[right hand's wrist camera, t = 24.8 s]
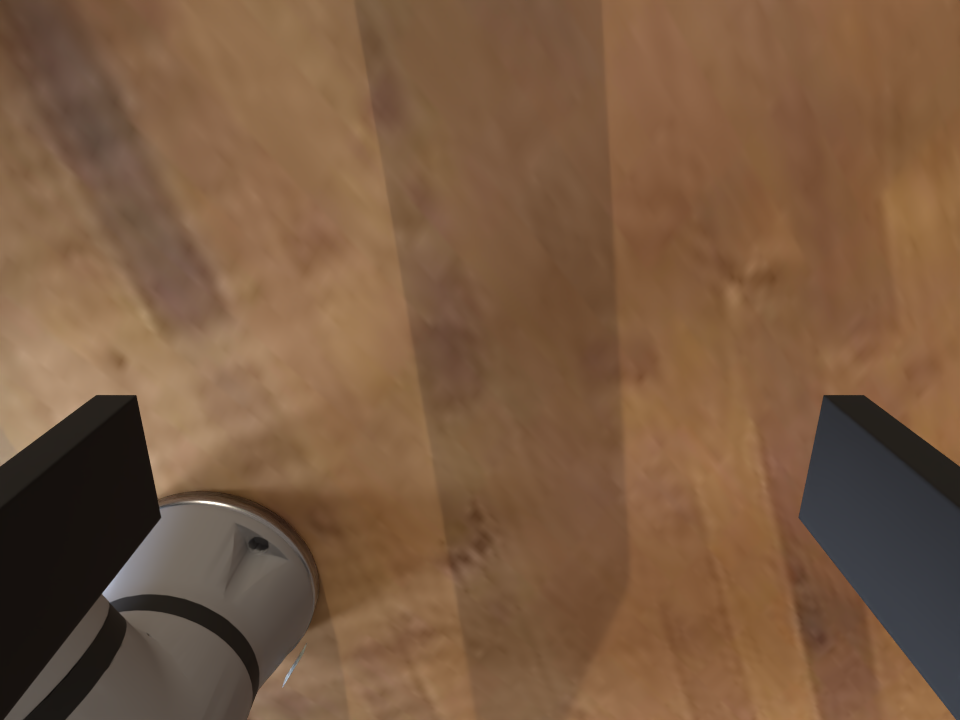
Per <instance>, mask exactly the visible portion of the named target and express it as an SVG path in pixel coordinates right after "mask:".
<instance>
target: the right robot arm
mask: <svg viewBox="0 0 960 720" xmlns="http://www.w3.org/2000/svg"><path fill="white" fill-rule="evenodd" d="M799 519H800V520H801V521H802V523H803V524H804V525H805V527H806V528H807V529H808V530H809V532H810V533H811V534H812V536H813V537H814V538H815V539H816V541H817V542H818V543H819V544H820V546H821V547H822V548H823V550H824V551H825V552H826V553H827V555H828V556H829V557H830V559H831V560H832V561H833V562H834V564H835V565H836V566H837V568H838V569H839V570H840V571H841V573H842V574H843V575H844V577H845V578H846V579H847V580H848V582H849V583H850V584H851V585H852V587H853V588H854V589H855V591H856V592H857V593H858V594H859V596H860V597H861V598H862V600H863V601H864V602H865V603H866V605H867V606H868V607H869V609H870V610H871V611H872V612H873V614H874V615H875V616H876V618H877V619H878V620H879V621H880V623H881V624H882V625H883V626H884V628H885V629H886V630H887V632H888V633H889V634H890V635H891V637H892V638H893V639H894V641H895V642H896V643H897V644H898V646H899V647H900V648H901V650H902V651H903V652H904V653H905V655H906V656H907V657H908V659H909V660H910V661H911V662H912V664H913V665H914V666H915V667H916V669H917V670H918V671H919V673H920V674H921V675H922V676H923V678H924V679H925V680H926V682H927V683H928V684H929V685H930V687H931V688H932V689H933V691H934V692H935V693H936V694H937V696H938V697H939V698H940V699H941V701H942V702H943V703H944V705H945V706H946V707H947V708H948V710H949V711H950V712H951V714H952V715H953V716H954V717H955V719H956V720H960V466H958V465H957V464H955V463H954V462H953V461H951V460H950V459H949V458H947V457H946V456H945V455H943V454H942V453H941V452H939V451H938V450H937V449H935V448H934V447H933V446H931V445H930V444H929V443H927V442H926V441H925V440H923V439H922V438H921V437H919V436H918V435H917V434H915V433H914V432H912V431H911V430H910V429H908V428H907V427H906V426H904V425H903V424H902V423H900V422H899V421H898V420H896V419H895V418H894V417H892V416H891V415H890V414H888V413H887V412H886V411H884V410H883V409H882V408H880V407H879V406H878V405H876V404H875V403H874V402H872V401H871V400H870V399H868V398H867V397H865V396H864V395H824V396H823V401H822V406H821V411H820V416H819V421H818V426H817V430H816V435H815V440H814V445H813V450H812V455H811V460H810V465H809V469H808V474H807V479H806V484H805V489H804V494H803V499H802V504H801V508H800V513H799ZM318 594H319V578H318V572H317V567H316V564H315V561H314V559H313V556H312V554H311V552H310V550H309V549H308V547H307V545H306V544H305V542H304V541H303V539H302V538H301V537H300V535H299V534H298V533H297V532H296V531H295V530H294V529H293V528H292V527H291V526H290V525H289V524H288V523H287V522H286V521H284V520H283V519H282V518H281V517H279V516H278V515H276V514H275V513H273V512H272V511H270V510H269V509H267V508H265V507H263V506H261V505H259V504H257V503H255V502H252V501H250V500H247V499H244V498H241V497H238V496H234V495H230V494H225V493H219V492H209V491H196V492H185V493H179V494H175V495H171V496H167V497H165V498H162V499H159V500H158V499H157V494H156V489H155V484H154V479H153V474H152V469H151V465H150V460H149V455H148V450H147V445H146V440H145V435H144V430H143V426H142V421H141V416H140V411H139V406H138V401H137V396H136V395H96V396H95V397H93V398H92V399H90V400H89V401H88V402H86V403H85V404H84V405H82V406H81V407H80V408H78V409H77V410H76V411H74V412H73V413H72V414H70V415H69V416H68V417H66V418H65V419H64V420H62V421H61V422H60V423H58V424H57V425H56V426H54V427H53V428H52V429H50V430H49V431H48V432H46V433H45V434H43V435H42V436H41V437H39V438H38V439H37V440H35V441H34V442H33V443H31V444H30V445H29V446H27V447H26V448H25V449H23V450H22V451H21V452H19V453H18V454H17V455H15V456H14V457H13V458H11V459H10V460H9V461H7V462H6V463H5V464H3V465H2V466H0V720H247V718H248V715H249V712H250V709H251V707H252V704H253V701H254V699H255V696H256V694H257V691H258V690H259V688H260V687H261V686H262V685H263V684H264V683H265V681H266V680H267V679H268V678H269V677H270V676H271V674H272V673H273V672H274V671H275V670H276V668H277V667H278V666H279V665H280V664H281V662H282V661H283V660H284V659H285V657H286V656H287V655H288V654H289V653H290V652H291V651H292V650H293V649H294V648H295V647H296V646H297V644H298V643H299V642H300V640H301V638H302V637H303V636H304V634H305V632H306V631H307V629H308V627H309V624H310V622H311V619H312V616H313V613H314V610H315V607H316V603H317V600H318ZM306 645H307V643H306ZM306 645H305V646H304V648H303V650H302V651H301V653H300V655H299V656H298V658H297V659H296V661H295V663H294V664H293V666H292V668H291V669H290V671H289V672H288V674H287V676H286V678H285V681H284V684H285V683H286V681H287V679H288V678H289V676H290V675H291V673H292V671H293V670H294V668H295V666H296V665H297V663H298V662H299V660H300V658H301V657H302V655H303V654H304V651H305V648H306ZM284 684H283V686H284Z"/></svg>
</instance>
